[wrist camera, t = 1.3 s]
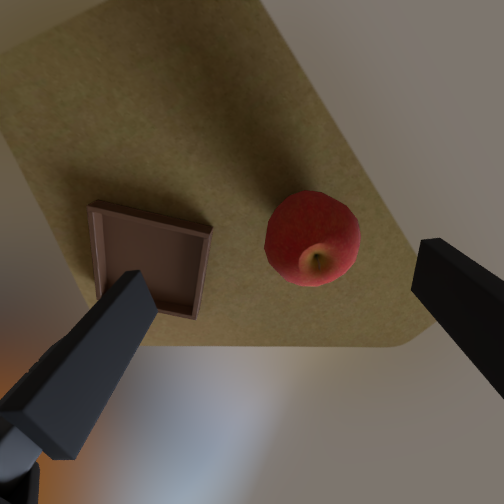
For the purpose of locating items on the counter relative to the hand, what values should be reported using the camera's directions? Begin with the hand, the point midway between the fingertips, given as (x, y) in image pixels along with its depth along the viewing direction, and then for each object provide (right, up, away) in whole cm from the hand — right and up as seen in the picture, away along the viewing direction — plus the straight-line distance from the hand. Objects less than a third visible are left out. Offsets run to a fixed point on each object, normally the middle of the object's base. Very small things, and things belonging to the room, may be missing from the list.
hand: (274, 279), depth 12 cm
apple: (+6, +6, +22) cm, 24 cm away
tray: (-17, 0, +27) cm, 31 cm away
